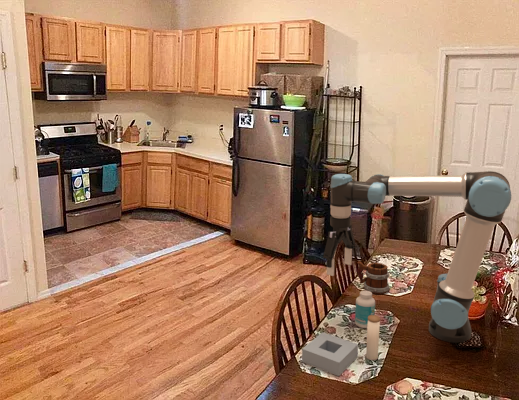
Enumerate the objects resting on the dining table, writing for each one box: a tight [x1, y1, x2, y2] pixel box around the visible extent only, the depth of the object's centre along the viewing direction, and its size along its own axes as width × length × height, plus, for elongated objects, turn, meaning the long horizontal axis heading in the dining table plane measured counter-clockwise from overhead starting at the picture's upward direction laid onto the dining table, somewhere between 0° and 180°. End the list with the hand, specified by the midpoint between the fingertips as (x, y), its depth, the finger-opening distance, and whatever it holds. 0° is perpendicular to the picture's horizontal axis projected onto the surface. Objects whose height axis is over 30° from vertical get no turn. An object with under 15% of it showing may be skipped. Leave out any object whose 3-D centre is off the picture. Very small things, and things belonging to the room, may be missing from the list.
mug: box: [357, 260, 390, 295], centre depth 218 cm, size 12×14×15 cm
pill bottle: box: [354, 290, 376, 329], centre depth 186 cm, size 8×7×14 cm
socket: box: [301, 331, 359, 377], centre depth 163 cm, size 14×14×5 cm
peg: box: [365, 314, 381, 361], centre depth 163 cm, size 4×4×15 cm
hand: (339, 269), depth 181 cm, fingers open, 13 cm apart
